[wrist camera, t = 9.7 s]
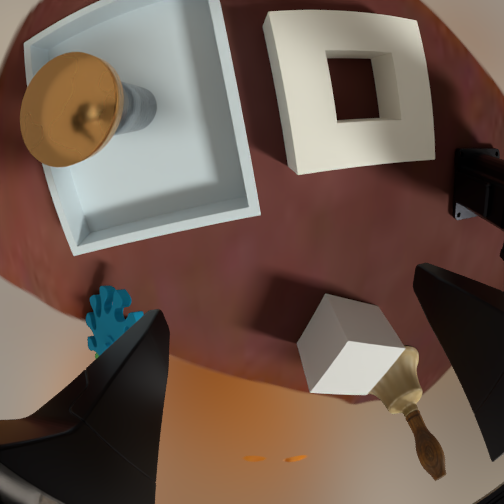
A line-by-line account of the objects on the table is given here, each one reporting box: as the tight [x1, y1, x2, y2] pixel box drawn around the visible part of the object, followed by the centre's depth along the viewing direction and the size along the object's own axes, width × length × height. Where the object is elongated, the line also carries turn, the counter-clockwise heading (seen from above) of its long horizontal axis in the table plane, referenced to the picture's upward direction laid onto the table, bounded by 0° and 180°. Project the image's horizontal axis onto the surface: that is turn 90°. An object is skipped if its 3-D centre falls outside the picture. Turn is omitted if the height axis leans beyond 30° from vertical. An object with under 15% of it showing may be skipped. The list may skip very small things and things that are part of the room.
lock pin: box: [20, 52, 157, 167], centre depth 12 cm, size 4×4×9 cm
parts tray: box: [24, 0, 261, 256], centre depth 15 cm, size 13×16×3 cm
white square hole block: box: [262, 10, 435, 175], centre depth 15 cm, size 10×10×3 cm
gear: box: [86, 286, 144, 359], centre depth 22 cm, size 11×6×10 cm
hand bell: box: [369, 346, 446, 481], centre depth 23 cm, size 8×8×16 cm
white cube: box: [297, 293, 406, 395], centre depth 23 cm, size 6×6×6 cm
